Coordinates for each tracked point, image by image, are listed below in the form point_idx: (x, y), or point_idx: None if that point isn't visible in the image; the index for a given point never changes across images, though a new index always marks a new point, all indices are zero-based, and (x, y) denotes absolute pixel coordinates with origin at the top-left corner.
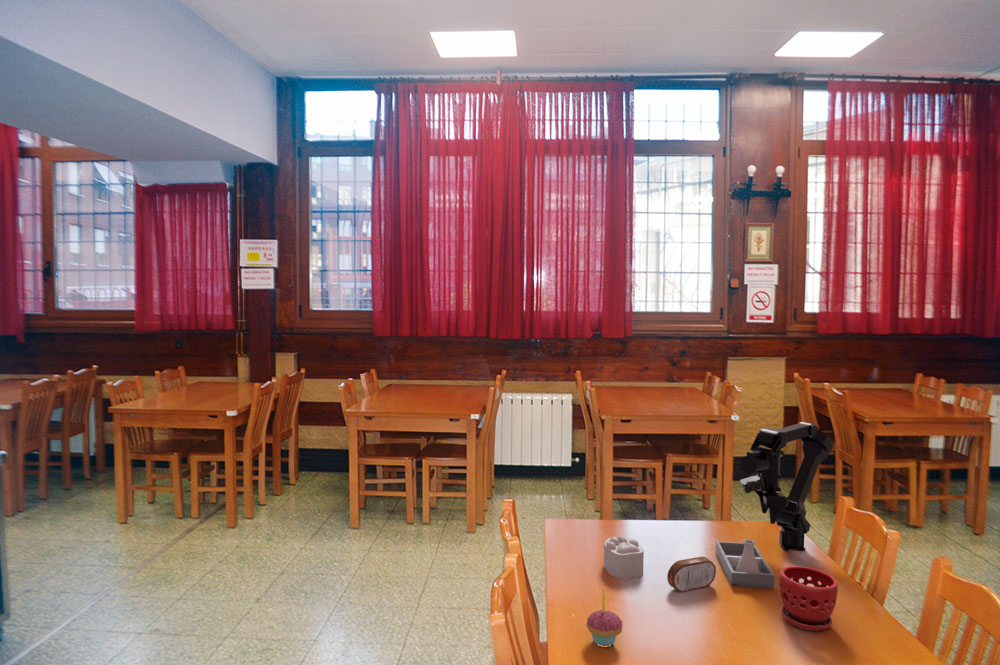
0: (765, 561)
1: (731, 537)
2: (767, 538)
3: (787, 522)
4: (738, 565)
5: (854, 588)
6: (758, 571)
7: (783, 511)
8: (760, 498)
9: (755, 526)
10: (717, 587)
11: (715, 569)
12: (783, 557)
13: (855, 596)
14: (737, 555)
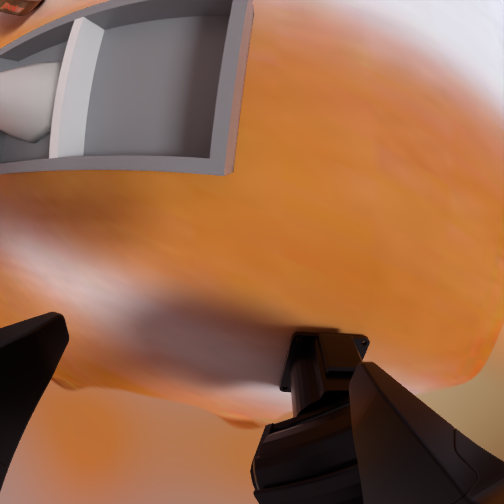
0: (31, 169)
1: (436, 157)
2: (410, 306)
3: (292, 434)
4: (24, 66)
5: (63, 369)
6: (5, 132)
7: (323, 476)
8: (449, 488)
9: (490, 298)
10: (25, 28)
11: (3, 11)
12: (222, 298)
13: None
14: (191, 81)
